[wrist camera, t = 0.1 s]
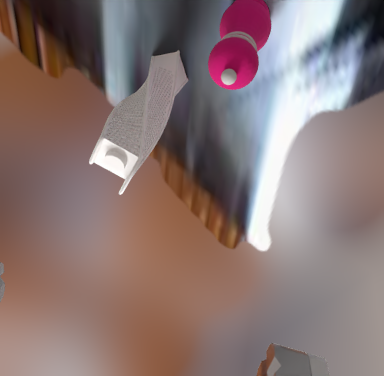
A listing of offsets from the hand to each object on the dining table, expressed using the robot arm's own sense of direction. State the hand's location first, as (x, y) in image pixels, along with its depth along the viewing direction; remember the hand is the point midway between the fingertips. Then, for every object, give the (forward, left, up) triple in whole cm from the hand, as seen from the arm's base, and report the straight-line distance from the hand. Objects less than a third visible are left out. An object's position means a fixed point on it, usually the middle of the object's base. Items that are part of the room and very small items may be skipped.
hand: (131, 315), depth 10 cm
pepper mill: (+7, +6, -52) cm, 53 cm away
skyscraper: (+23, +5, -52) cm, 57 cm away
